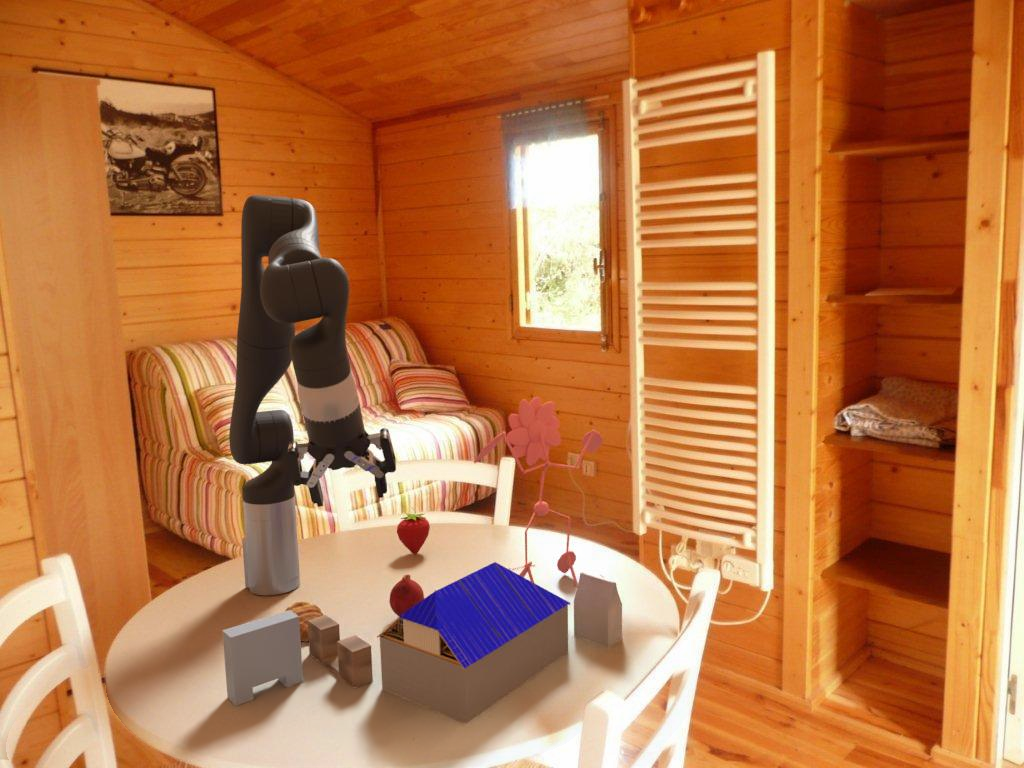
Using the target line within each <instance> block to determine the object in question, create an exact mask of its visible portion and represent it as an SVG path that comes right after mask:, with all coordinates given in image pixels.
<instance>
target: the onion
mask: <svg viewBox="0 0 1024 768" xmlns="http://www.w3.org/2000/svg"><path fill="white" fill-rule="evenodd" d="M423 599H425V594H424V590H423V587H422V586H421V585H420V584H419V583H418V582H417V581H415V580H413V579H411V574H409V573H405V574H404V575H403V576H402V578H401V580H400V581H398V582H397V583H396V584H395V585H394V586H393V587H392V588H391V590H390V593H389V606H390V609H391V610H392V612H394V614H395V615H396V616H397V617H399V616H401V615H402V614H403V613H405V612H406V611H408V610H409V609H411V608H412V607H413V606H415V605H416V604H418V603H419V602H420V601H422V600H423Z"/></svg>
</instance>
